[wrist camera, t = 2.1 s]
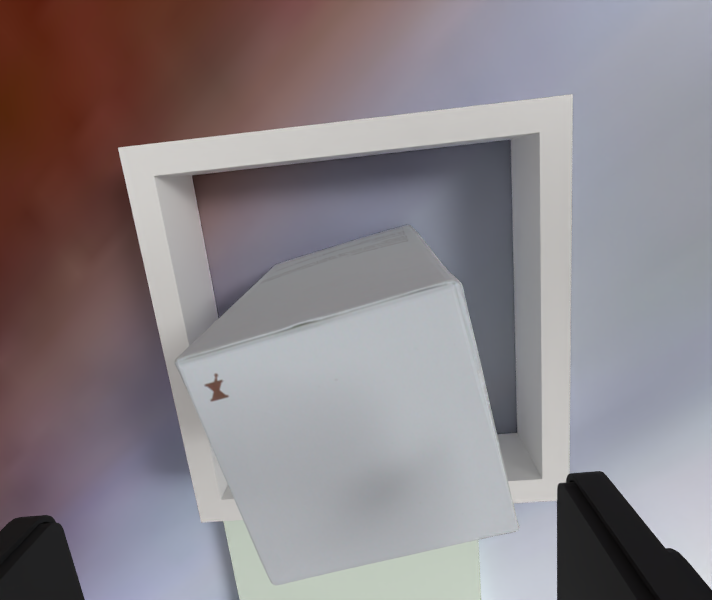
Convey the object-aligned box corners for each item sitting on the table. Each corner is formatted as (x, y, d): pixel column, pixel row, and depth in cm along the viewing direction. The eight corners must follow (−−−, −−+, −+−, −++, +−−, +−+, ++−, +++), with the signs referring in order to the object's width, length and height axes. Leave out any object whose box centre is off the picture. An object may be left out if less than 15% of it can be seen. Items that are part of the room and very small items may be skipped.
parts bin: (537, 108, 21) (572, 94, 17) (540, 450, 26) (569, 500, 22) (162, 152, 22) (118, 147, 19) (226, 472, 27) (201, 522, 23)
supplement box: (316, 393, 25) (262, 595, 13) (271, 261, 24) (160, 355, 11) (452, 358, 25) (527, 540, 12) (416, 219, 23) (461, 272, 11)
